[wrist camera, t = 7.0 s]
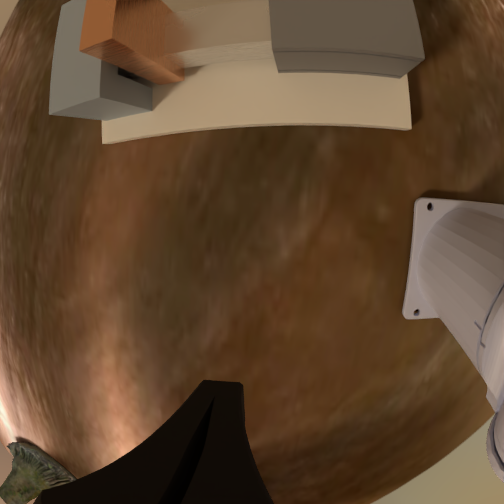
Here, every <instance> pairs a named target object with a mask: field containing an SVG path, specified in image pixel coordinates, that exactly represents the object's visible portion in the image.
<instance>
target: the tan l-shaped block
mask: <svg viewBox="0 0 504 504" xmlns="http://www.w3.org/2000/svg"><path fill="white" fill-rule="evenodd" d="M79 51H80V52H83V53H85V54H88V55H91V56H93V57H96V58H98V59H101V60H103V61H106V62H108V63H111V64H113V65H115V66H118V75H120V76H123V77H125V78H128V79H130V80H133V79H137V78H141V77H143V78H145V79H147V80H149V81H152V82H154V83H156V84H158V85H163V84H168V83H174V82H179V81H184V68H189V67H195V66H202V65H209V64H216V63H224V62H233V61H243V60H256V59H272V58H274V55H273V51H272V43H271V27H270V12H269V0H247V1H238V2H230V3H223V4H216V5H210V6H204V7H199V8H194V9H189V10H184V11H180V12H175V13H174V12H173V11H172V10H171V9H170V8H169V7H168V6H167V5H166V4H165V3H164V2H163V1H162V0H87V1H86V7H85V12H84V18H83V24H82V31H81V38H80V47H79Z"/></svg>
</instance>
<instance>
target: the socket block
mask: <svg viewBox="0 0 504 504" xmlns="http://www.w3.org/2000/svg"><path fill="white" fill-rule="evenodd" d="M86 1H87V0H71V1H69V2H67V3H66V4H64V5H62V8H61V13H60V18H59V23H58V28H57V34H56V41H55V47H54V55H53V63H52V73H51V85H50V103H49V115H59V116H70V117H79V118H88V119H96V120H104V121H108V120H112V119H117V118H121V117H126V116H130V115H135V114H140V113H145V112H150V111H152V88H150V87H148V86H145V85H143V84H140V83H138V82H135V81H133V80H130V79H128V78H125V77H123V76H120V75H118V66H115V65H113V64H111V63H108V62H106V61H103V60H101V59H98V58H96V57H93V56H91V55H88V54H85V53H83V52H80V51H79V47H80V38H81V31H82V24H83V18H84V12H85V7H86Z"/></svg>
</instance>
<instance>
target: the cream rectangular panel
mask: <svg viewBox="0 0 504 504" xmlns="http://www.w3.org/2000/svg"><path fill="white" fill-rule="evenodd" d="M162 1H163V2H164V3H165V4H166V5H167V6H168V7H169V8H170V9H171V10H172V11H173V12H174V13H175V12H180V11H184V10H189V9H194V8H199V7H204V6H210V5H216V4H223V3H230V2H238V1H247V0H162ZM269 12H270V27H271V43H272V51H273V55H274V58H272V59H256V60H243V61H233V62H224V63H216V64H209V65H202V66H195V67H189V68H184V81H179V82H174V83H168V84H163V85H158V84H156V83H154V82H152V81H149V80H147V79H145V78H143V77H141V78H137V79H133V81H135V82H138V83H140V84H143V85H145V86H148V87H150V88H152V111H150V112H145V113H140V114H135V115H130V116H126V117H121V118H117V119H112V120H108V121H104V120H102V144H113V143H118V142H123V141H129V140H135V139H141V138H147V137H153V136H160V135H167V134H175V133H183V132H192V131H201V130H212V129H223V128H237V127H254V126H282V125H328V126H355V127H372V128H385V129H396V130H409V129H412V127H411V110H410V98H409V87H408V78H407V73H408V72H409V71H410V70H412V69H413V68H414V67H415V66H417V65H418V64H419V63H420V62H421V61H423V60H424V59H425V55H424V49H423V44H422V38H421V33H420V29H419V24H418V19H417V15H416V11H415V7H414V3H413V0H269Z"/></svg>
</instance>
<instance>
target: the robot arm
mask: <svg viewBox="0 0 504 504" xmlns="http://www.w3.org/2000/svg"><path fill="white" fill-rule="evenodd" d="M430 202H431V204H432V208H431V209H430V210H428V209H427V205H428V203H430ZM416 309H419V310H418V312H417V313H415V314H414V311H415V310H416ZM402 314H403V316H404V317H405V318H406V319H423V318H440V319H441V320H442V321H443V323H444V324H445V325H446V327H447V328H448V329H449V331H450V332H451V333H452V335H453V336H454V337H455V339H456V340H457V342H458V343H459V344H460V346H461V347H462V348H463V350H464V351H465V353H466V354H467V356H468V357H469V358H470V360H471V361H472V363H473V364H474V366H475V367H476V369H477V370H478V372H479V373H480V375H481V376H482V378H483V379H484V381H485V382H486V384H487V387H488V390H487V394H486V398H487V399H488V401H489V403H490V404H491V406H492V408H493V410H494V411H495V413H496V414H495V416H494V417H493V419H492V421H491V424H490V427H489V429H488V434H487V442H486V444H487V454H488V459H489V462H490V464H491V467H492V468H493V470H494V472H495V474H496V475H497V476H498V477H499V478H500V480H501V481H502V482H504V205H503V204H494V203H485V202H475V201H464V200H452V199H439V198H425V197H421V198H418V199H417V200H416V202H415V205H414V222H413V234H412V245H411V255H410V263H409V271H408V279H407V286H406V292H405V298H404V304H403V310H402ZM33 504H274V503H273V501H272V499H271V497H270V495H269V493H268V491H267V489H266V487H265V485H264V483H263V481H262V478H261V476H260V474H259V471H258V469H257V466H256V464H255V461H254V458H253V455H252V452H251V449H250V445H249V442H248V438H247V434H246V430H245V410H244V392H243V385H242V384H241V383H240V382H225V381H212V380H203V381H202V382H201V383H200V384H199V385H198V387H197V388H196V389H195V390H194V392H193V393H192V394H191V395H190V396H189V398H188V399H187V400H186V401H185V402H184V403H183V404H182V406H181V407H180V408H179V409H178V410H177V411H176V412H175V413H174V414H173V415H172V416H171V417H170V418H169V419H168V420H167V421H166V422H165V423H164V424H163V425H162V426H161V427H160V428H158V429H157V430H156V431H155V432H154V433H153V434H152V435H151V436H150V437H148V438H147V439H146V440H145V441H143V442H142V443H141V444H140V445H138V446H137V447H135V448H134V449H133V450H131V451H130V452H128V453H127V454H125V455H124V456H122V457H121V458H119V459H117V460H116V461H114V462H113V463H111V464H109V465H107V466H105V467H104V468H102V469H100V470H97V471H95V472H93V473H91V474H89V475H87V476H84V477H82V478H80V479H77V480H75V481H72V482H69V483H66V484H62V485H59V486H56V487H52V488H49V489H44V490H42V491H41V493H40V494H39V495H38V497H37V498H36V500H35V502H34V503H33Z"/></svg>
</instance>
